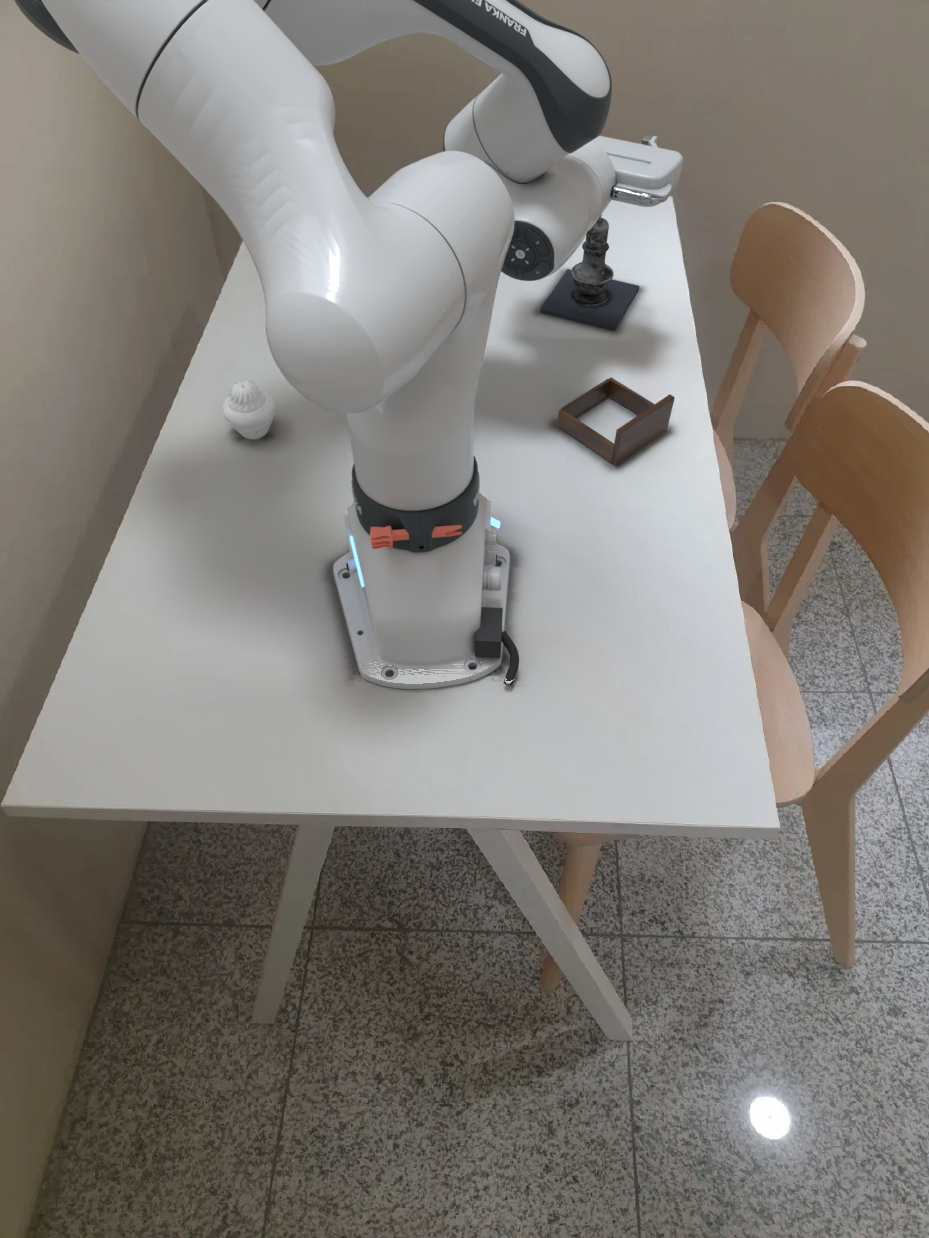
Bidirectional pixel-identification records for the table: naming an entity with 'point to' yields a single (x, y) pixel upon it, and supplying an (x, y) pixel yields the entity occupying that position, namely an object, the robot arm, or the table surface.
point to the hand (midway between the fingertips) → (613, 134)
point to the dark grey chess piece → (593, 268)
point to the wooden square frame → (629, 435)
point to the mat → (597, 316)
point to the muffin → (249, 410)
